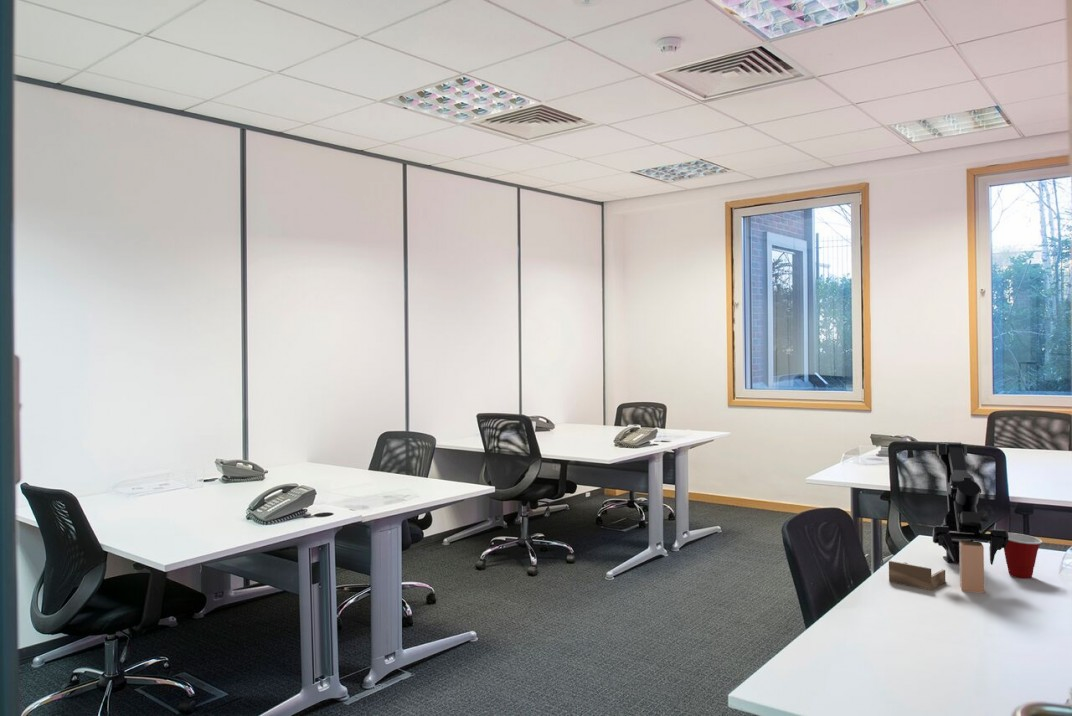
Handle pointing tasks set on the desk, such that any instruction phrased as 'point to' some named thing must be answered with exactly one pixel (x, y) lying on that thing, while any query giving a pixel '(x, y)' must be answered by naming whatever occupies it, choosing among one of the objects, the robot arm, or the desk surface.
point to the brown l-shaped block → (915, 575)
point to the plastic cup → (1021, 554)
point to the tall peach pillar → (971, 566)
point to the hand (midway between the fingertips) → (973, 562)
